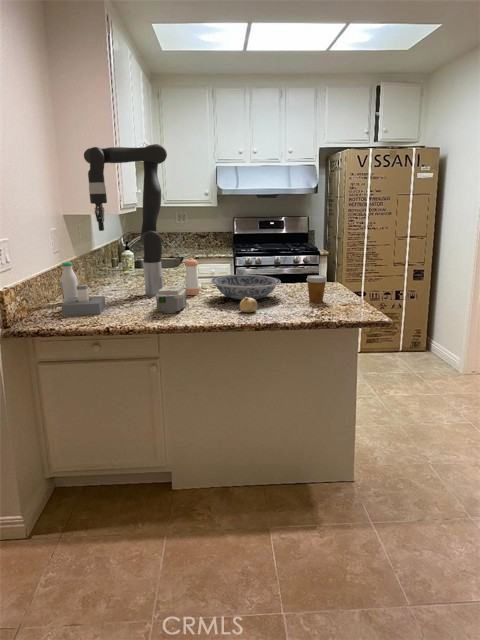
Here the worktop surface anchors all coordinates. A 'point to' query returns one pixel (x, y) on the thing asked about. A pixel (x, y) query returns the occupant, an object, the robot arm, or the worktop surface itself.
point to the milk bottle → (68, 282)
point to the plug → (82, 293)
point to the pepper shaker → (191, 277)
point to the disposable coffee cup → (316, 288)
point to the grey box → (171, 299)
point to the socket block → (83, 306)
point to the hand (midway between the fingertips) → (101, 230)
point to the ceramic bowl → (245, 286)
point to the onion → (248, 305)
